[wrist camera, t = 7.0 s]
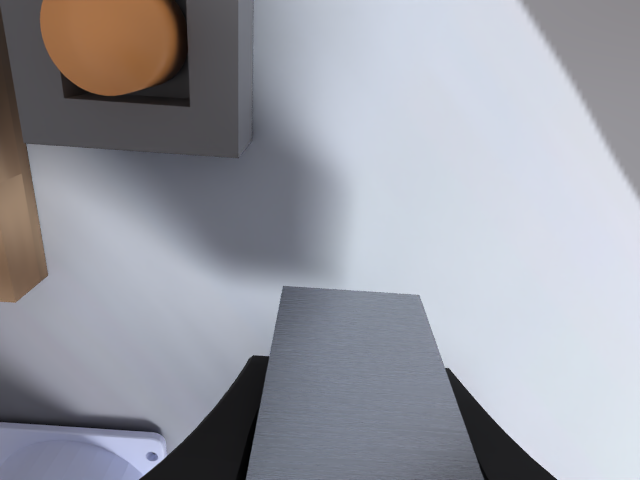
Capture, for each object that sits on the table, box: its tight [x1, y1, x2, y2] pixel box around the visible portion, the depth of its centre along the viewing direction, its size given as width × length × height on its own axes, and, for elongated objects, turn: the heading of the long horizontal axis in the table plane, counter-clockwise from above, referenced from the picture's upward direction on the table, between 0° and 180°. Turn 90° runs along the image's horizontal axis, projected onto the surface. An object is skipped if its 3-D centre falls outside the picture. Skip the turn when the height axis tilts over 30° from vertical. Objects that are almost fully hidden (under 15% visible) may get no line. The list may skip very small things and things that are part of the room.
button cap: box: [40, 0, 188, 96], centre depth 12 cm, size 3×3×2 cm
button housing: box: [0, 0, 254, 158], centre depth 14 cm, size 6×6×2 cm
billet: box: [246, 286, 484, 480], centre depth 12 cm, size 4×4×7 cm
